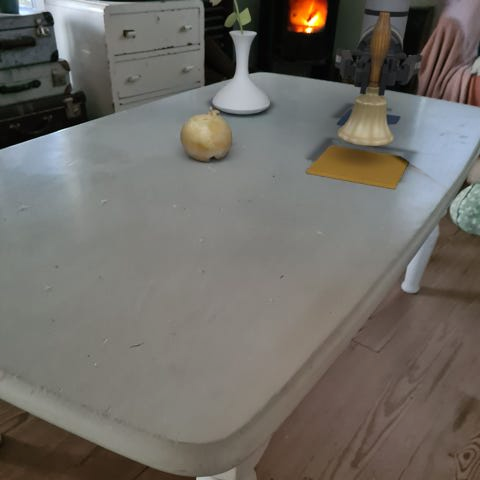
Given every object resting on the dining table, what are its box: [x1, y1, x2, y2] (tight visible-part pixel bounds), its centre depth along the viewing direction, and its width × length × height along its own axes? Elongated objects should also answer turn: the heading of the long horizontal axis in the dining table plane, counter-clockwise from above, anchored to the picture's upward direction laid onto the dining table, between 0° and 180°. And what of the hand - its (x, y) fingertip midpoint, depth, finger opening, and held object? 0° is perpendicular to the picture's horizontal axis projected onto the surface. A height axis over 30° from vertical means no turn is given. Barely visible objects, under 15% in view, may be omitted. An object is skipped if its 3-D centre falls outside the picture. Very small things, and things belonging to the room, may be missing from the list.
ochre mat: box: [306, 144, 410, 190], centre depth 79 cm, size 13×13×1 cm
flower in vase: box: [209, 0, 271, 115], centre depth 95 cm, size 13×11×25 cm
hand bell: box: [336, 12, 395, 147], centre depth 72 cm, size 8×8×16 cm
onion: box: [179, 105, 233, 163], centre depth 79 cm, size 8×8×7 cm
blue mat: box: [336, 108, 401, 126], centre depth 99 cm, size 10×10×1 cm
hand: (373, 83), depth 67 cm, fingers closed on hand bell, 2 cm apart
